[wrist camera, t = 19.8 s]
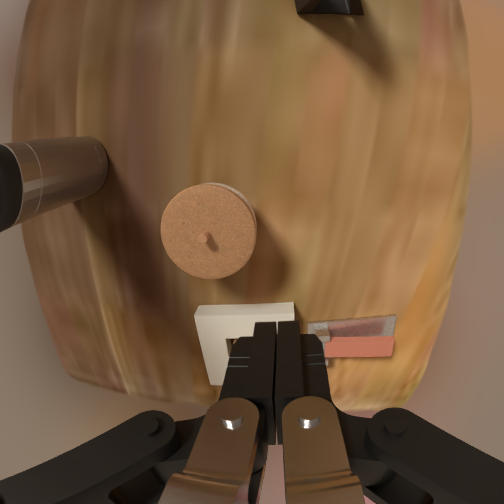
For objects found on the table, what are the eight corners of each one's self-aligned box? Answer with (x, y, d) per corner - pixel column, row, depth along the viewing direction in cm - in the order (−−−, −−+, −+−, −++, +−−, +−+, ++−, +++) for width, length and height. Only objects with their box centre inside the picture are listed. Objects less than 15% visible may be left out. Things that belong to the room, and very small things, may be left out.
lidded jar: (212, 160, 36) (191, 165, 28) (278, 212, 38) (277, 233, 29) (167, 222, 40) (137, 245, 31) (227, 270, 41) (214, 304, 33)
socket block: (213, 373, 49) (210, 384, 46) (199, 305, 44) (193, 315, 41) (295, 372, 47) (295, 384, 44) (293, 302, 42) (294, 313, 39)
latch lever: (316, 351, 44) (315, 357, 42) (316, 335, 43) (316, 342, 41) (389, 350, 41) (391, 356, 39) (393, 335, 40) (394, 341, 38)
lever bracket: (307, 356, 45) (308, 369, 42) (307, 321, 43) (309, 333, 40) (389, 348, 44) (394, 360, 41) (395, 313, 41) (401, 325, 38)
